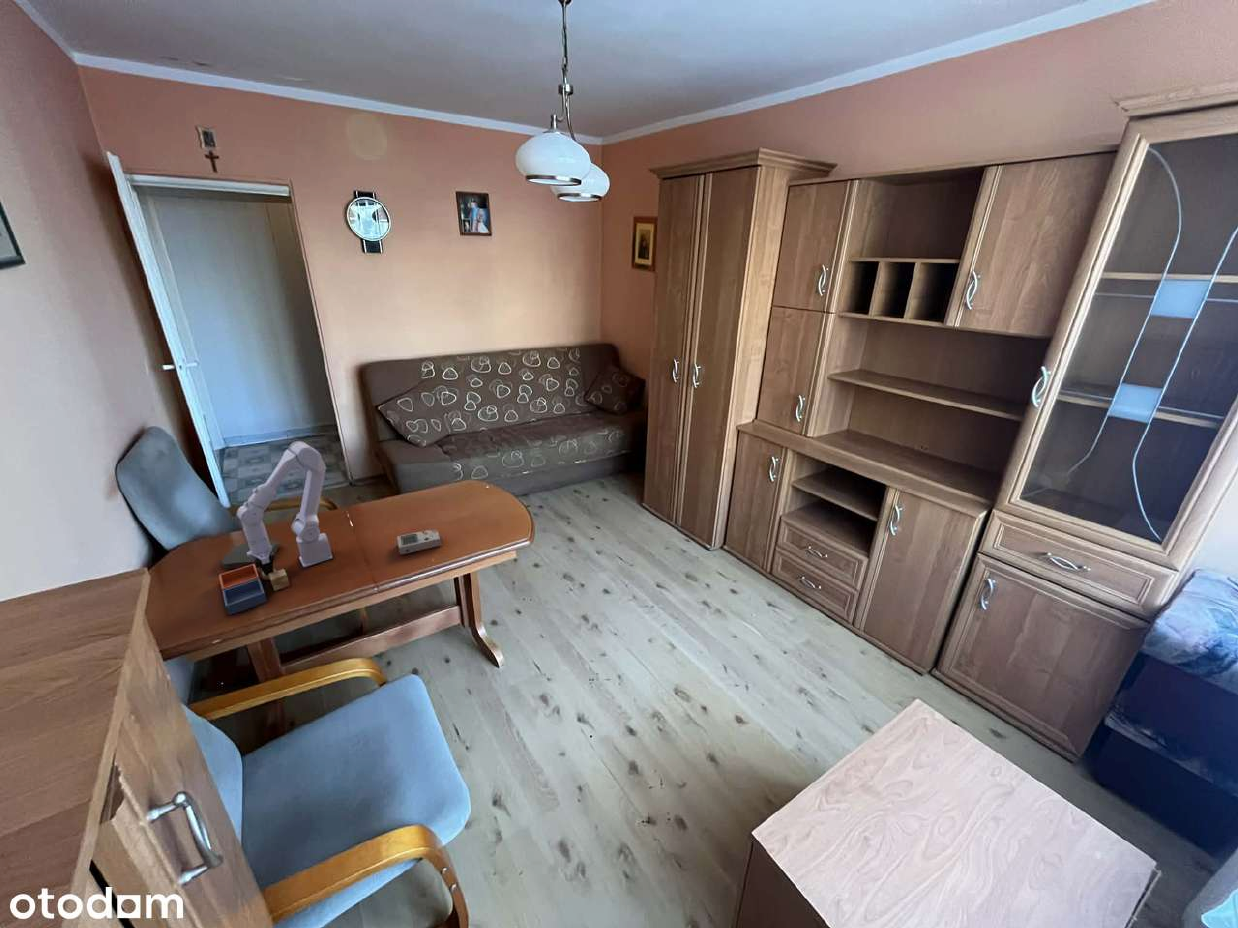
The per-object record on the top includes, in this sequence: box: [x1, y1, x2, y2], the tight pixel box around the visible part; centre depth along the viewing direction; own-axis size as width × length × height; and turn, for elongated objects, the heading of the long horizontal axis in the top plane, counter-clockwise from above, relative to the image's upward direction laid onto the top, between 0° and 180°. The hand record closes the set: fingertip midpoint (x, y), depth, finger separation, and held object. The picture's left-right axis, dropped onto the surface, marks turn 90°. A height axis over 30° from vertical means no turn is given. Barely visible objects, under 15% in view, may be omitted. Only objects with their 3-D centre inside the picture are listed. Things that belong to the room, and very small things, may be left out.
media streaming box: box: [221, 539, 279, 570], centre depth 185 cm, size 15×15×3 cm
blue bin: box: [221, 577, 269, 616], centre depth 162 cm, size 10×10×4 cm
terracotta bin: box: [218, 564, 260, 591], centre depth 170 cm, size 10×10×4 cm
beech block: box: [269, 568, 291, 592], centre depth 169 cm, size 4×4×4 cm
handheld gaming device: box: [396, 529, 442, 555], centre depth 193 cm, size 9×15×4 cm, turn 116°
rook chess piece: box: [261, 567, 277, 581], centre depth 173 cm, size 4×4×8 cm
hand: (268, 571), depth 174 cm, fingers closed on rook chess piece, 3 cm apart
